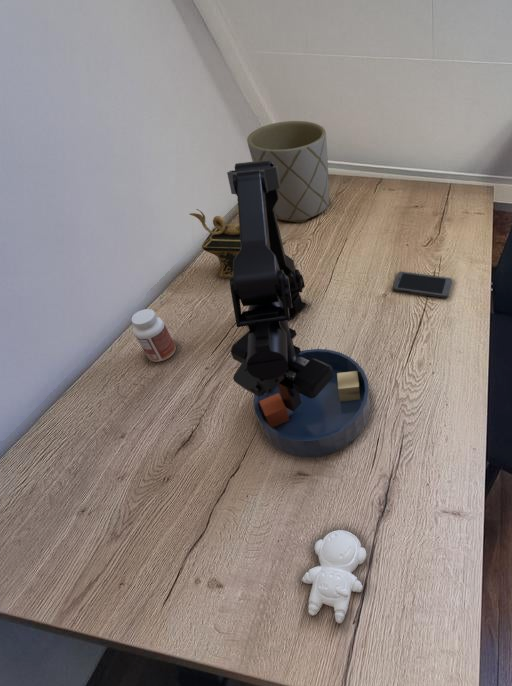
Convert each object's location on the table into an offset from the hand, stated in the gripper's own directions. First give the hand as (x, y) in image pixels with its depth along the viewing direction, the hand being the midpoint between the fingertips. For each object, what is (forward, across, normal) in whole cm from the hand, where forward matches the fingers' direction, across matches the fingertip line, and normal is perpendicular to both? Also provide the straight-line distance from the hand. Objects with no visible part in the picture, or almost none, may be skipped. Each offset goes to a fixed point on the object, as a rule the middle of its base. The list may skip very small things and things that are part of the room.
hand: (289, 392), depth 84 cm
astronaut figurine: (+7, +24, -19) cm, 31 cm away
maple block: (+6, +7, +9) cm, 13 cm away
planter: (+6, -51, +63) cm, 81 cm away
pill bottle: (+6, -36, -3) cm, 37 cm away
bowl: (+6, +3, +3) cm, 7 cm away
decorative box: (+6, -43, +29) cm, 52 cm away
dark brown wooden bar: (+4, 0, 0) cm, 4 cm away
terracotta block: (+6, -2, -3) cm, 7 cm away
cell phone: (+7, +3, +47) cm, 47 cm away
